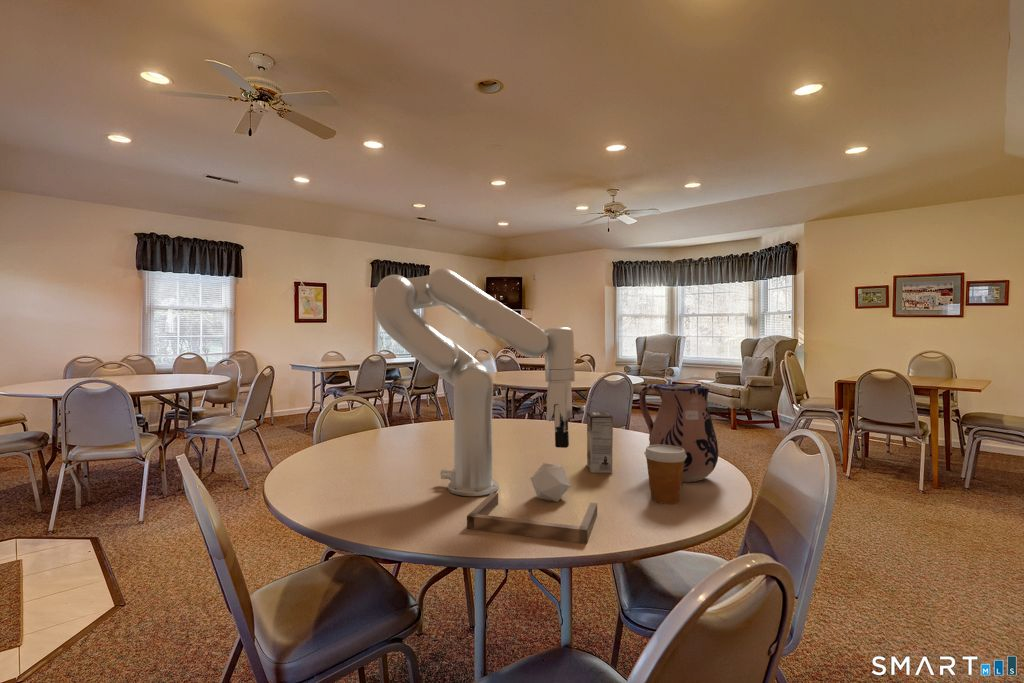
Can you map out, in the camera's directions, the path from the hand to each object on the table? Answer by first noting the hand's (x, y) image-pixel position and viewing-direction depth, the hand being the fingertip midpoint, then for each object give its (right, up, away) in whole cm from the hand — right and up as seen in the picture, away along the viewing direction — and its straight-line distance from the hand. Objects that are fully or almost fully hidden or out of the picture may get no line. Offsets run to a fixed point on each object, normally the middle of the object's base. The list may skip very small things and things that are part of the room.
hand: (562, 446), depth 124 cm
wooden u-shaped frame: (-8, -10, -24) cm, 27 cm away
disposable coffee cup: (+23, -10, -11) cm, 27 cm away
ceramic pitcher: (+32, -10, +8) cm, 34 cm away
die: (-4, -10, -9) cm, 15 cm away
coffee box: (+12, -10, +16) cm, 22 cm away
